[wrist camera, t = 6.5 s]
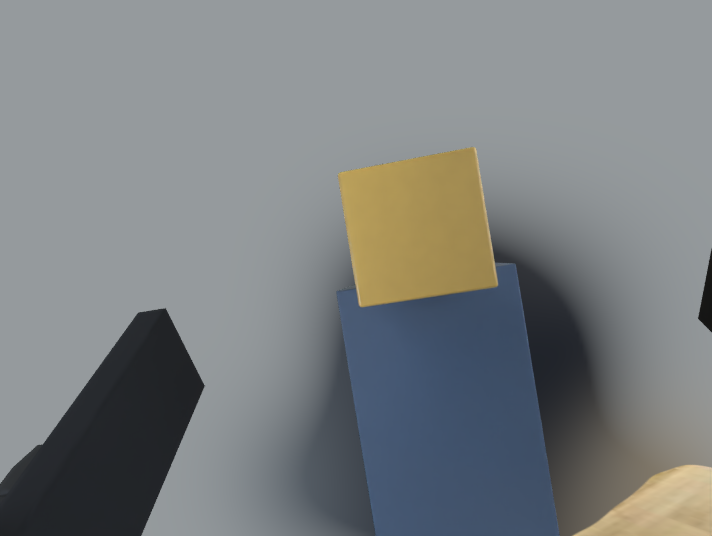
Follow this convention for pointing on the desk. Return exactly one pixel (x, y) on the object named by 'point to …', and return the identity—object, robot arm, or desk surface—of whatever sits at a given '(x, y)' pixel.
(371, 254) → the bar
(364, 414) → the door post
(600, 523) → the desk surface
